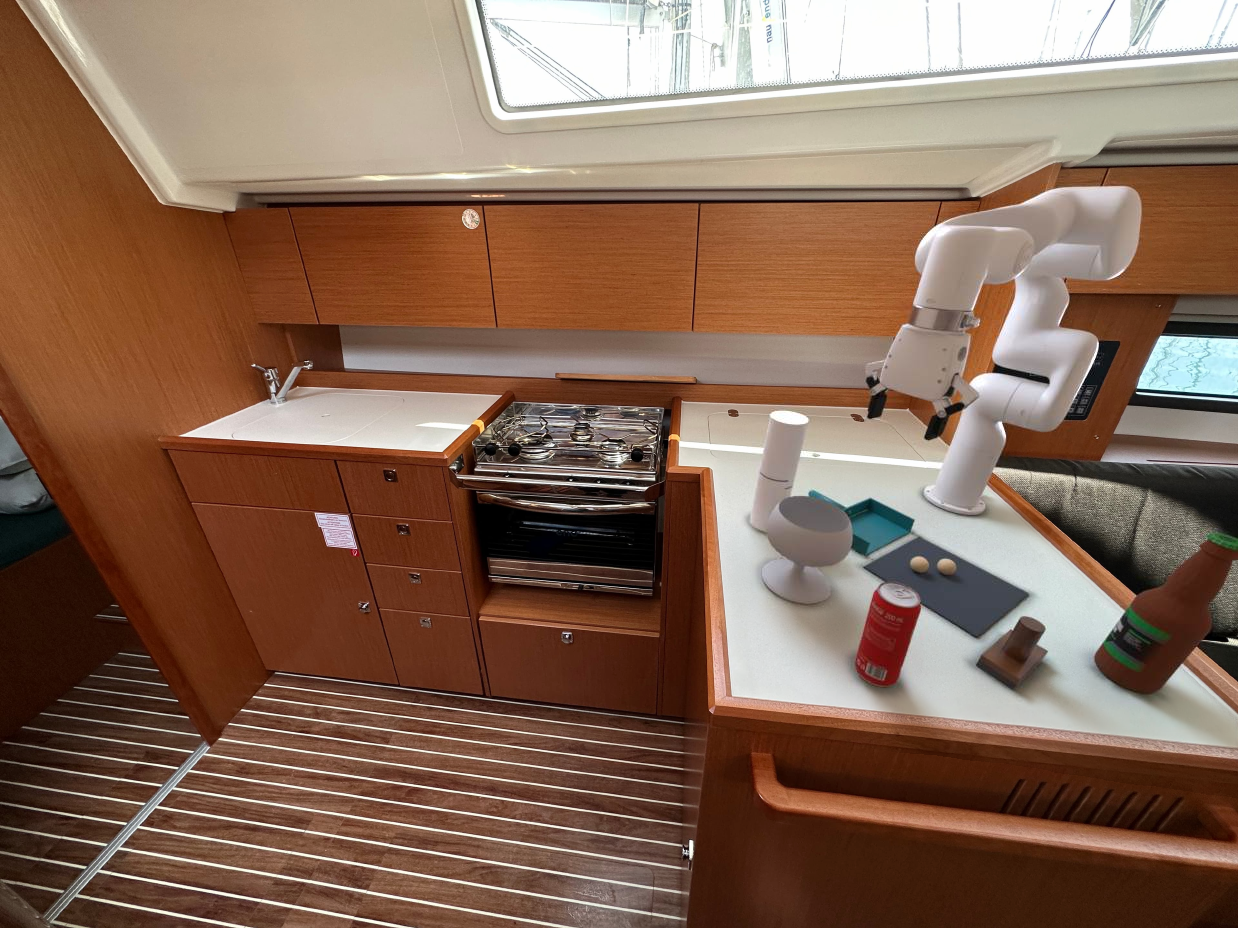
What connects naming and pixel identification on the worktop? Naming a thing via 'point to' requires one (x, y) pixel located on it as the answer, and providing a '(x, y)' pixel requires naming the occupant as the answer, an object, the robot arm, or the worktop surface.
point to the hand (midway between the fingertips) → (900, 427)
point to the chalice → (805, 547)
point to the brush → (1015, 653)
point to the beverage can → (887, 633)
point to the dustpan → (872, 523)
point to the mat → (950, 586)
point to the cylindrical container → (778, 464)
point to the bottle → (1167, 620)
